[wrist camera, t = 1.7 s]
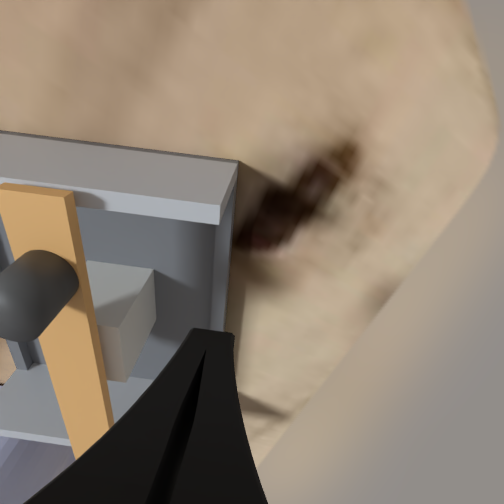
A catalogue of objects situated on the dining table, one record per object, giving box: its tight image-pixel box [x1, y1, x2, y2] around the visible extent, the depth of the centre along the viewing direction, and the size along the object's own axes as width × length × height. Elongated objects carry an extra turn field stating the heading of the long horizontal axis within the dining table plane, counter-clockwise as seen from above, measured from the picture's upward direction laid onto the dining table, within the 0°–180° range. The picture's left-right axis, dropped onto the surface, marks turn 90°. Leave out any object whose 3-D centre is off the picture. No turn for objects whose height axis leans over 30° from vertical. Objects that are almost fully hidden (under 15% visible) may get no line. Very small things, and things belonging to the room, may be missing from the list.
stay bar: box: [0, 182, 115, 460], centre depth 16 cm, size 18×2×3 cm, turn 174°
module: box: [86, 260, 156, 383], centre depth 20 cm, size 4×4×5 cm
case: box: [0, 130, 239, 446], centre depth 20 cm, size 18×15×6 cm
